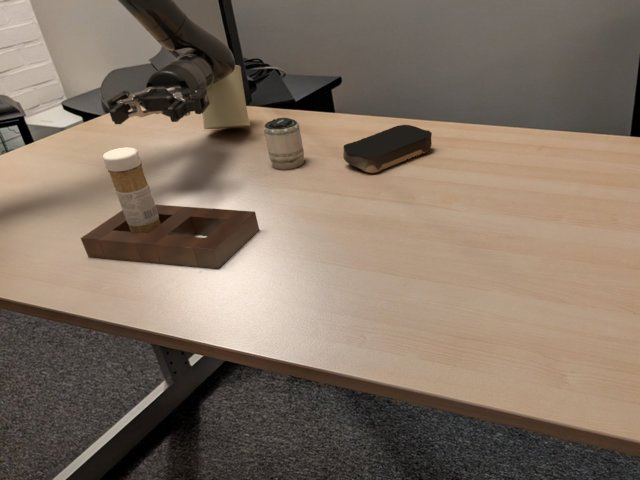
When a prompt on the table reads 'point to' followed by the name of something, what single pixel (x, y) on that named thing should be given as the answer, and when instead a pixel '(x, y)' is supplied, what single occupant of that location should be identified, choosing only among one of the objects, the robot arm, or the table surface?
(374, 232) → the table surface
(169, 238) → the socket block
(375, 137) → the black sponge
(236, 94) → the can
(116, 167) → the sprinkles bottle
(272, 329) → the table surface
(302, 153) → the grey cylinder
